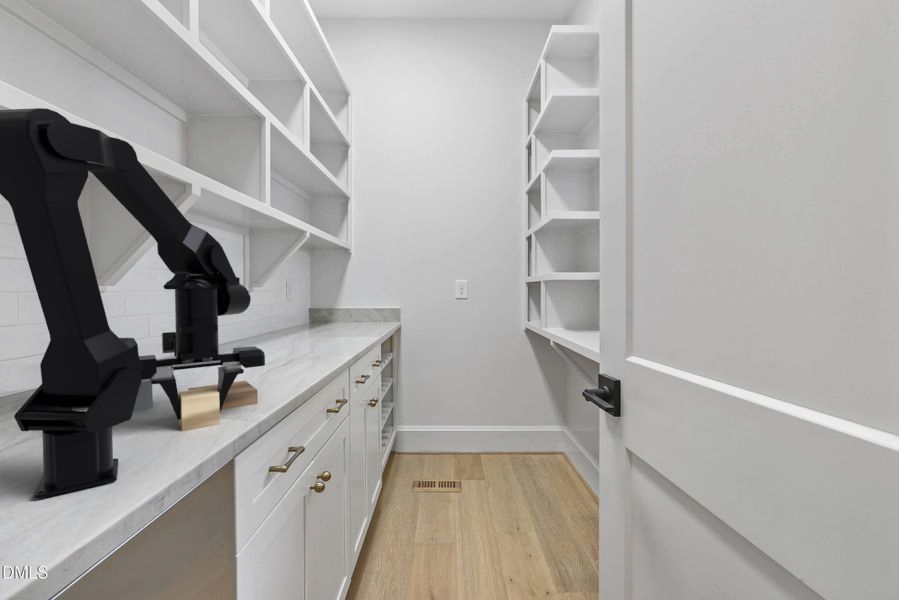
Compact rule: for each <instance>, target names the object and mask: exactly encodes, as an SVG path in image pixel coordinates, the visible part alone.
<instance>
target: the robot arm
mask: <svg viewBox="0 0 899 600" xmlns="http://www.w3.org/2000/svg"><path fill="white" fill-rule="evenodd" d="M89 173H91V174H92V175H93V176H94V177H95V178H96V179H97V180H98V181H99V182H100V183H101V184H102V185H103V186H104V188H106V190H107V191H108V192H110V194H111V195H112V196H113V197H114V198H115V199H116V200H117V201H118V202H119V203H120V205H122V206H123V207H124V208H125V210H127V212H129V214H130V215H132V217H133V218H134V219H136V222H138V223H139V224H140V225H141V226H142V227H143V228H144V229H145V230H146V232H148V234H149V235H150V236H152V238H153V240H155V241H156V244H157V245H156V247H157V255H158V256H159V258H160V259H161V261H162V262H163V263H164V264H165V266H166V267H167V269H168V270H169V271H170V272H171V273H172V274H174V275H173V277H172V278H171V279H170V280H167V282H166V283H165V284H164V285H163V289H164V290H174V306H175V307H174V309H175V310H174V312H175V315H174V317H175V319H174V320H175V321H174V322H175V331H169V332H162V333H161V344H162V345H161V347H162V353H163V354H172V353H173V355H174V358H172V357H171V358H163V359H162V358H161V359H157V357H156V355H155V354H148V355H147V354H146V355H140V354H139V346H138V343H137V340H136V339H135V338H134V337H119V336H118V335H117V334H116V333H115V332H114V331H112V329H111V327H110V326H109V322H108V318H107V314H106V311H105V307H104V306H105V305H104V302H103V298H102V294H101V291H100V288H99V286H100V285H99V283H98V280H97V279H98V278H97V276H96V271H95V266H94V263H93V259H92V256H91V252H90V247H89V243H88V240H87V236H86V233H85V229H84V224H83V221H82V216H81V213H80V209H79V199H80V197H81V195H82V191H83V190H84V187H85V185H86V182H87V181H88V178H89ZM0 196H2V198H4V199H5V200H6V201H7V202H8V204H9V205H10V207H11V210H12V213H13V216H14V219H15V224H16V226H17V230H18V233H19V237H20V240H21V243H22V246H23V249H24V253H25V257H26V260H27V263H28V266H29V267H28V268H29V270H30V274H31V277H32V280H33V283H34V284H33V285H34V287H35V290H36V294H37V297H38V300H39V303H40V307H41V310H42V313H43V317H44V320H45V324H46V327H47V330H48V334H49V339H50V340H49V343H48V344H47V348H46V350H45V352H44V354H43V357H42V359H41V361H40V365H39V367H40V368H39V369H40V377H41V384H40V385H39V386H38V387H37V389H36V390H35V391H34V392H33V393H32V394H31V395H30V396H29V397H28V399H27V400H26V401H25V402H24V404H22V405H21V407H20V408H19V409H18V410H17V412H15V413H14V416H13V417H14V420H15V422H16V424H17V425H18V427H19V430H20V431H21V432H29V431H32V432H37V431H39V432H42V433H41V434H42V459H43V461H42V464H43V468H42V469H43V475H42V477H41V479H40V480H39V483H38V484H37V486H36V490H35V491H34V493H33V498H34V500H37V499H43V498H48V497H51V496H52V497H53V496H55V495H60V494H64V493H69V492H73V491H77V490H82V489H86V488H91V487H94V486H95V487H96V486H99V485H103V484H108V483H113V482H115V481H117V480H118V473H119V458H114V447H113V444H114V443H113V427H114V426H118V425H120V424H123V423H126V422H127V421H130V420H131V419H132V416H133V413H134V411H135V410H134V406H135V402H136V398H137V395H138V391H139V387H140V385H141V380H145V379H150V381H151V384H152V385H160V386H161V388H162V390H163V391H164V393H165V395H166V396H167V398H168V399H169V402H170V404H171V407H172V409H173V412H174V413H175V416H176V418H177V420H178V421H179V420H180V419H181V408H180V402H179V396H178V392H179V391H178V385H177V380H176V376H175V375H174V371H178V370H179V371H180V370H188V369H189V370H190V369H197V368H207V367H208V368H209V367H217V366H218V367H217V370H218V371H217V373H218V377H217V378H218V380H217V384H218V387H217V391H218V392H219V406H220V413H221V411H222V410H221V409H222V406H223V404H224V401H225V399H226V396H227V394H228V391H229V389H230V387H231V385H232V384H233V382H235V381H236V378H237V376H238V375H242V374H244V372H245V369H249V368H257V367H264V366H265V365H266V357H265V356H266V355H265V352H264V351H263V350H262V349H261V348H258V347H256V346H243V347H242V346H241V347H233V350H232V352H229V353H221V354H219V317H220V316H230V315H239V314H243V313H244V312H245V311H246V310H248V308H249V307H250V304H251V295H250V292H249V290H248V289H247V287H245V286H244V285H243V284H241V282H240V281H241V279H240V277H237V276H236V274H235V272H234V269H233V267H232V266H231V263H230V260H229V259H228V256H227V253H226V252H225V250H224V248H223V246H222V245H221V243H220V242H219V241H218V240H217V239H216V238H215V237H213V236H212V235H211V234H210V233H209V232H208V231H207V230H205V229H202V228H201V227H199V226H196V225H194V224H193V223H191V222H190V221H189V220H188V219H187V218H186V217H185V216H184V215H183V213H182V212H181V211H180V210H179V208H178V207H177V206H176V205H175V204H174V202H173V201H172V200H171V199H170V197H169V196H168V195H167V194H166V193H165V191H164V190H163V189H162V188H161V186H159V184H158V182H156V180H155V179H154V178H153V177H152V176H151V174H150V173H149V172H148V171H147V169H146V168H145V167H144V166H143V164H142V163H141V162H140V161H139V160H138V156H137V152H136V150H135V149H134V147H133V146H132V145H131V143H129V142H127V141H126V140H124V139H120V138H118V137H111V136H109V135H107V134H106V133H104V132H103V131H102V130H100V129H96V128H93V127H89V126H84V125H81V124H77V123H74V122H71V121H69V120H68V118H66V117H65V116H64V115H62V114H61V113H59V112H57V111H56V110H52V109H49V108H38V107H37V108H34V107H33V108H14V109H12V108H10V109H0ZM242 367H243V368H242ZM244 368H245V369H244ZM72 408H89V409H86V410H85V411H83V410H73V411H72ZM133 410H134V411H133Z"/></svg>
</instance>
